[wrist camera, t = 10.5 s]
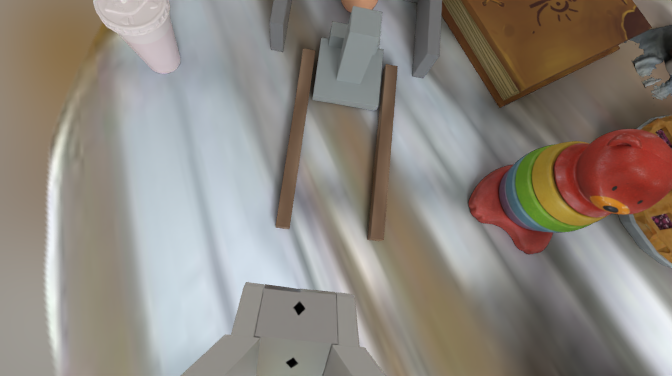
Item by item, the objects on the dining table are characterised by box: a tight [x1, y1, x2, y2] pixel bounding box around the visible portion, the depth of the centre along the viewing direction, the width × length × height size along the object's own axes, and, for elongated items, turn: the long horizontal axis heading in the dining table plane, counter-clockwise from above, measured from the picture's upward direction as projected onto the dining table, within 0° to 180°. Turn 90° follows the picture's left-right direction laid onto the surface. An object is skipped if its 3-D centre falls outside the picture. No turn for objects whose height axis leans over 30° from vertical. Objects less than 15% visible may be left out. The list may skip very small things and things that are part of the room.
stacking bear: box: [469, 129, 672, 254], centre depth 36 cm, size 11×10×18 cm
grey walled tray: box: [270, 0, 442, 78], centre depth 44 cm, size 20×13×5 cm, turn 83°
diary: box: [441, 0, 652, 108], centre depth 49 cm, size 23×19×6 cm
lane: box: [276, 48, 398, 241], centre depth 42 cm, size 12×22×2 cm, turn 173°
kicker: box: [312, 6, 384, 111], centre depth 40 cm, size 8×9×10 cm
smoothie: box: [93, 0, 181, 74], centre depth 35 cm, size 6×6×14 cm
